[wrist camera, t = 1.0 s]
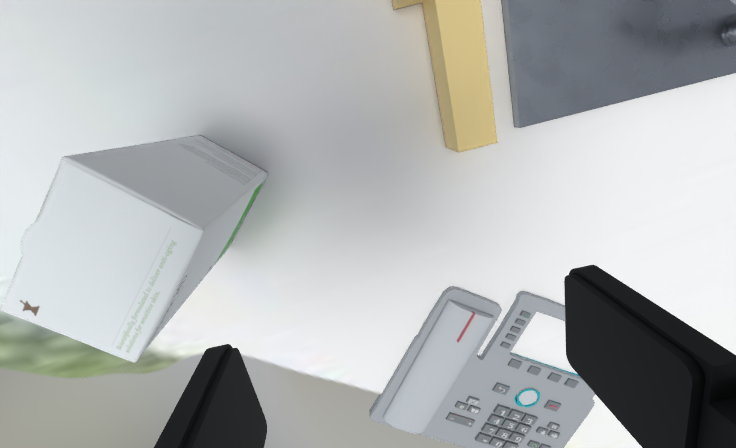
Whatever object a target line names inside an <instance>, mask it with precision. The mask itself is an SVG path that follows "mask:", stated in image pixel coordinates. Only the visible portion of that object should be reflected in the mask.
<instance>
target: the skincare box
mask: <svg viewBox="0 0 736 448" xmlns="http://www.w3.org/2000/svg"><path fill="white" fill-rule="evenodd" d="M267 176H268V173H267V172H265V171H263V170H261V169H260V168H258V167H256V166H254V165H253V164H251V163H249V162H247V161H245V160H244V159H242V158H240V157H238V156H237V155H235V154H233V153H231V152H229V151H228V150H226V149H224V148H222V147H220V146H219V145H217V144H215V143H213V142H211V141H209V140H208V139H206V138H204V137H203V136H201V135H198V136H191V137H185V138H179V139H173V140H167V141H160V142H154V143H147V144H141V145H135V146H129V147H122V148H116V149H109V150H103V151H97V152H90V153H84V154H77V155H71V156H64V157H62V159H61V161H60V165H59V168H58V170H57V172H56V175H55V177H54V179H53V181H52V184H51V186H50V188H49V191H48V193H47V195H46V198H45V200H44V202H43V205H42V207H41V209H40V212H39V214H38V216H37V219H36V221H35V222H34V223H33V224H31V225H30V226H29V227H28V228H27V230H26V231H25V233H24V235H23V238H22V241H21V252H22V257H21V259H20V262H19V264H18V267H17V269H16V272H15V274H14V277H13V279H12V282H11V285H10V287H9V289H8V292H7V295H6V297H5V300H4V302H3V304H2V307H1V310H2V311H4V312H6V313H9V314H11V315H14V316H16V317H19V318H21V319H24V320H27V321H29V322H32V323H34V324H37V325H40V326H42V327H45V328H47V329H50V330H53V331H55V332H58V333H60V334H63V335H66V336H68V337H71V338H73V339H76V340H78V341H80V342H83V343H85V344H88V345H90V346H93V347H95V348H98V349H100V350H102V351H105V352H108V353H110V354H113V355H115V356H118V357H120V358H123V359H126V360H128V361H131V362H136V361H137V360H138V358H139V357H140V356H141V355H142V353H143V352H144V351H145V350H146V348H147V347H148V346H149V345H150V343H151V342H152V341H153V340H154V338H155V337H156V336H157V335H158V333H159V332H160V331H161V330H162V329H163V327H164V326H165V325H166V324H167V323H168V321H169V320H170V319H171V318H172V316H173V315H174V314H175V313H176V311H177V310H178V309H179V308H180V307H181V305H182V304H183V303H184V302H185V300H186V299H187V298H188V297H189V296H190V294H191V293H192V292H193V291H194V289H195V288H196V287H197V286H198V284H199V283H200V282H201V281H202V279H203V278H204V277H205V276H206V275H207V273H208V272H209V271H210V270H211V269H212V267H213V266H214V265H215V264H216V263H217V261H218V260H219V259H220V258H221V257H222V255H223V254H224V253H225V252H226V250H227V249H228V248H229V246H230V244H231V242H232V240H233V238H234V237H235V235H236V233H237V231H238V229H239V228H240V226H241V224H242V222H243V220H244V218H245V216H246V215H247V213H248V211H249V209H250V207H251V205H252V203H253V201H254V199H255V198H256V196H257V194H258V192H259V190H260V188H261V187H262V185H263V183H264V181H265V180H266V178H267Z"/></svg>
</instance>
